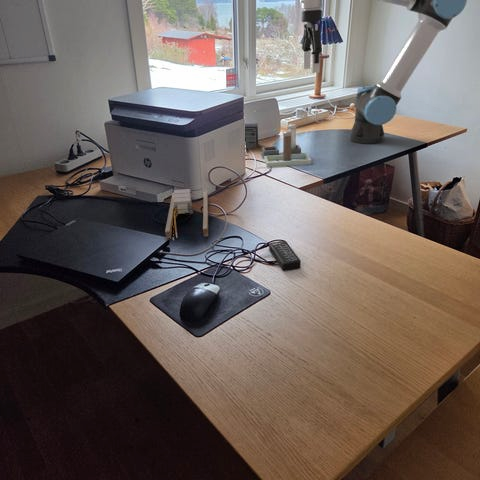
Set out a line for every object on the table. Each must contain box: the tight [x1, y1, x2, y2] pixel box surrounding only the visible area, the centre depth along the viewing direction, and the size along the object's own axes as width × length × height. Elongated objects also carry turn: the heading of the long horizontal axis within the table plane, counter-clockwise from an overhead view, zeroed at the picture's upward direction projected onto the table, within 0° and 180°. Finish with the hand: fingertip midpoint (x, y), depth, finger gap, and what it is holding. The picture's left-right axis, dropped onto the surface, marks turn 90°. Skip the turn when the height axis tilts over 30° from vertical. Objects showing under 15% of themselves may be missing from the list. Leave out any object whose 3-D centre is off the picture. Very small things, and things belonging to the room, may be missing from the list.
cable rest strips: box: [164, 190, 209, 240], centre depth 127 cm, size 11×28×2 cm, turn 4°
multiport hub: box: [268, 240, 302, 272], centre depth 103 cm, size 4×11×2 cm, turn 14°
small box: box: [244, 123, 259, 149], centre depth 185 cm, size 11×6×10 cm, turn 84°
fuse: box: [287, 123, 298, 149], centre depth 171 cm, size 3×3×12 cm
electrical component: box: [172, 188, 194, 241], centre depth 124 cm, size 24×6×5 cm, turn 6°
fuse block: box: [261, 144, 302, 160], centre depth 173 cm, size 16×7×4 cm, turn 94°
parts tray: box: [263, 152, 313, 168], centre depth 165 cm, size 17×9×2 cm, turn 94°
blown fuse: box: [282, 130, 292, 161], centre depth 163 cm, size 3×3×12 cm
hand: (311, 70), depth 167 cm, fingers open, 13 cm apart
